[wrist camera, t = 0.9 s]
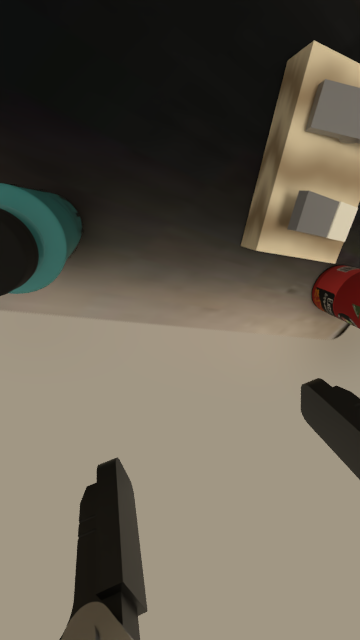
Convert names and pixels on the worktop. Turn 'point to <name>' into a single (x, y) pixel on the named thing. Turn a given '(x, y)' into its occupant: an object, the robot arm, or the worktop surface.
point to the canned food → (339, 293)
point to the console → (303, 160)
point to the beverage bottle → (34, 237)
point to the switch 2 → (321, 216)
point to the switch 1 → (336, 112)
